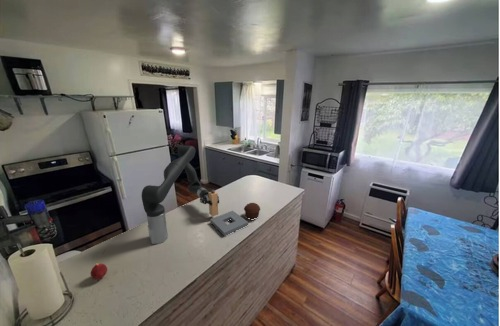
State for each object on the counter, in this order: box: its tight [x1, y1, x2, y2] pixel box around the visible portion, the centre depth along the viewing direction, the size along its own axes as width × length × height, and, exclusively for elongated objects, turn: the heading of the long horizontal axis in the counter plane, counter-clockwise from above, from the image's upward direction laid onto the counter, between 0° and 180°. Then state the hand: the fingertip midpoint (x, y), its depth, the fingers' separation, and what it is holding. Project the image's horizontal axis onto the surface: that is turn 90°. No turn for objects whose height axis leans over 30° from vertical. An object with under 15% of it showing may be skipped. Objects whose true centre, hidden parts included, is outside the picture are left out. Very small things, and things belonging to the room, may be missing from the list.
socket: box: [209, 210, 249, 237], centre depth 126 cm, size 18×18×3 cm
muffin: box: [243, 202, 261, 219], centre depth 135 cm, size 12×11×10 cm
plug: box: [208, 189, 219, 217], centre depth 130 cm, size 4×4×18 cm
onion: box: [90, 262, 108, 280], centre depth 85 cm, size 6×6×8 cm
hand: (215, 203), depth 128 cm, fingers closed on plug, 4 cm apart
